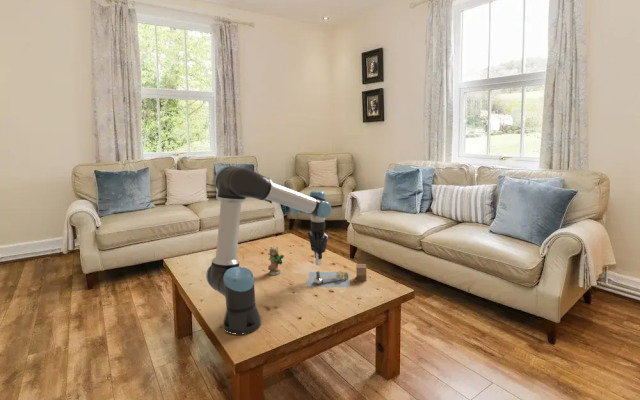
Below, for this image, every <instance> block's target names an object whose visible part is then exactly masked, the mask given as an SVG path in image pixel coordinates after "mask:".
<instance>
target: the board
mask: <svg viewBox="0 0 640 400" xmlns="http://www.w3.org/2000/svg"><path fill="white" fill-rule="evenodd" d="M337 272H338V271H318V270H317V271H309V274H308V278H307V281H306V284H305V288H306V287H309V288H313V287H314V288H315V287H316V288H320V287H321V288H331V287H332V288H349V287H351V272H350V271H346V272H347V273H348V280H345V279H344V276H343V280H339V281H333V282H327V283H322V284H319V285H317V284H314V278H317V279H320V278H321V277H326V276H332V275H338V274H337Z"/></svg>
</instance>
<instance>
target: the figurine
mask: <svg viewBox="0 0 640 400" xmlns="http://www.w3.org/2000/svg"><path fill="white" fill-rule="evenodd" d="M267 255H269V258H268V260H269V261H270V265H268V267H267V270H268V271H269V272H268V274H269V276H278V275H280V274H281V270H280V269H279V265H282V264H283V260H282V259H284V254H279V247H278V246H270V247H269V251H268V253H267Z"/></svg>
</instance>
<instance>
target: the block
mask: <svg viewBox="0 0 640 400" xmlns="http://www.w3.org/2000/svg"><path fill="white" fill-rule="evenodd" d="M355 267H356V268H355V269H356V271H355V272H356V281H357V282H361V281H362V282H367V264H366V263H356V265H355Z"/></svg>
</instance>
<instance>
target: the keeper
mask: <svg viewBox="0 0 640 400" xmlns="http://www.w3.org/2000/svg"><path fill="white" fill-rule="evenodd" d="M336 272H337V274H338V276H339V277H342V276H344V279H345V280H348V273H347V272H348V271H342V270H339V271H336Z"/></svg>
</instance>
